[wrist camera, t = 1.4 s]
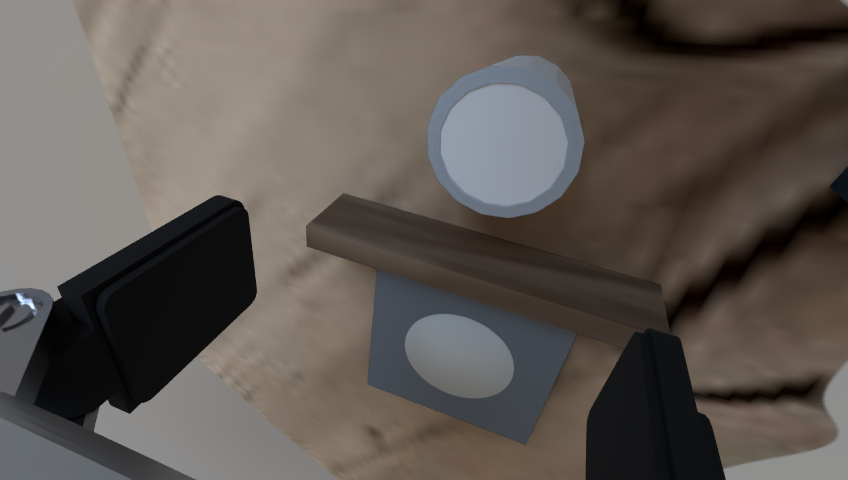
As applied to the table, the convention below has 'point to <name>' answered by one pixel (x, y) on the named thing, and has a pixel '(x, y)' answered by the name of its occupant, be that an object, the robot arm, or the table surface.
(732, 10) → the table surface
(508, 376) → the mat
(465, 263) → the divider wall
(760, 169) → the table surface
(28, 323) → the robot arm
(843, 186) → the watch
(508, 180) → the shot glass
